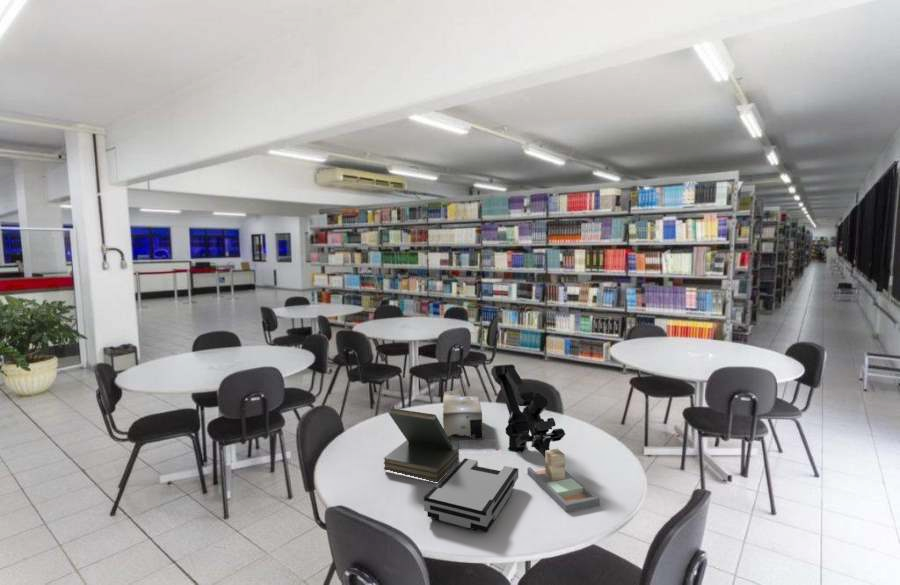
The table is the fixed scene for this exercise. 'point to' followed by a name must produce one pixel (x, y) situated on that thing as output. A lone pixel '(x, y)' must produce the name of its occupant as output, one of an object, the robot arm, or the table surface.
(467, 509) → the game console
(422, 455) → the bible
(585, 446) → the table surface
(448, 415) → the projector
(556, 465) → the block
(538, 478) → the box
